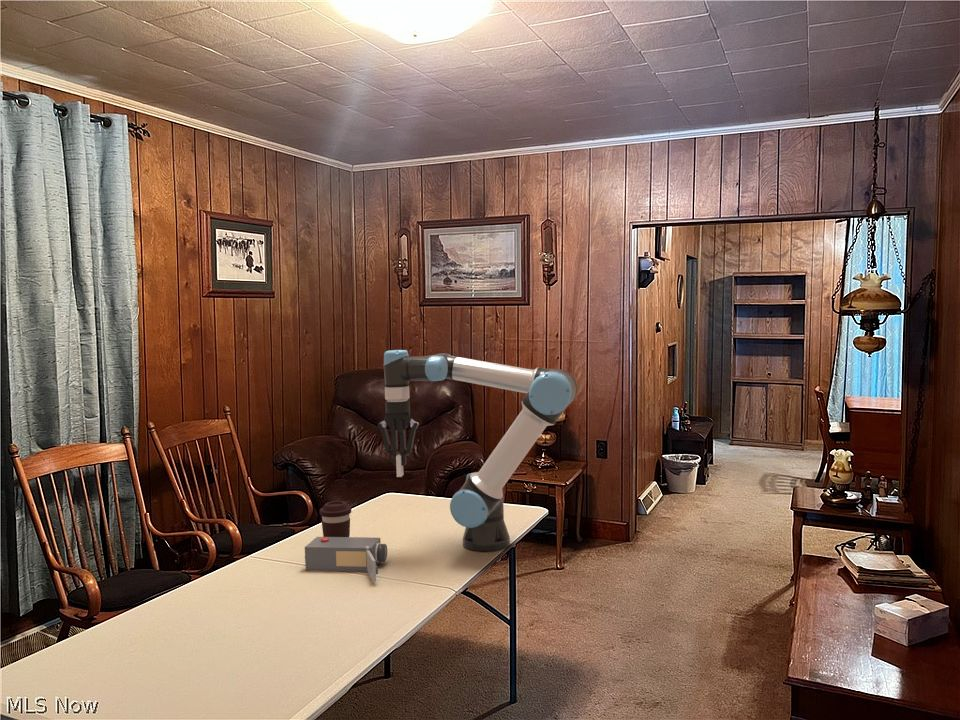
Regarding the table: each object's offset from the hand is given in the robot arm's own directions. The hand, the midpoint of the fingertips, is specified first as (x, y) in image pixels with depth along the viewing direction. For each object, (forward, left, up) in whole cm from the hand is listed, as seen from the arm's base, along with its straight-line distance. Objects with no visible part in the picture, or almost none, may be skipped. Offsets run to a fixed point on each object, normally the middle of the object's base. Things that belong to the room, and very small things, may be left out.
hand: (400, 475), depth 223 cm
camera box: (+14, +12, -24) cm, 31 cm away
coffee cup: (+22, -2, -25) cm, 33 cm away
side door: (+3, +22, -24) cm, 33 cm away
